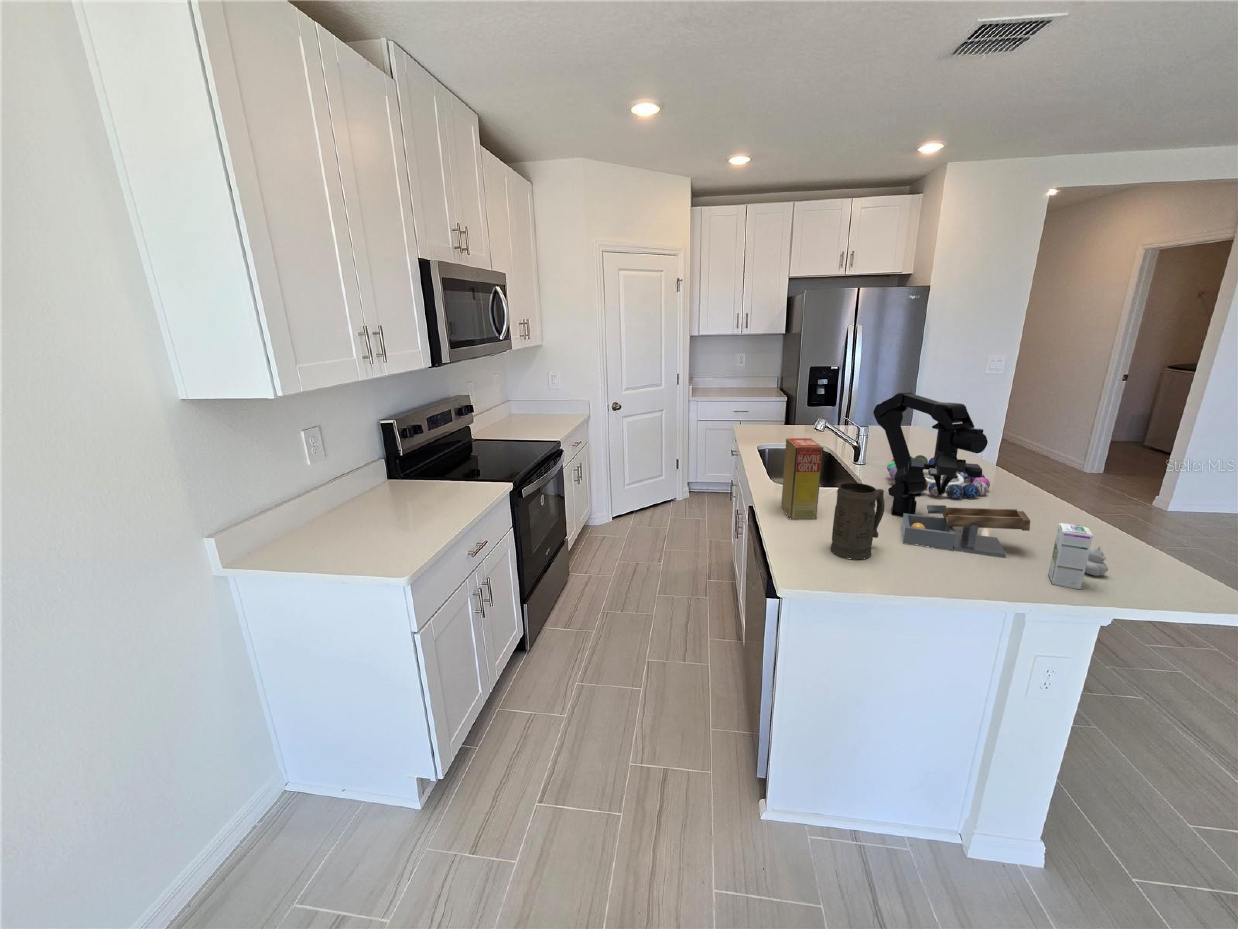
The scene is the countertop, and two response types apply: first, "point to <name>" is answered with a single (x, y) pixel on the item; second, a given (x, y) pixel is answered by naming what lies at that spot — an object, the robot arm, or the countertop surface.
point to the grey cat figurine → (1096, 563)
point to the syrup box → (1070, 555)
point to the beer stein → (856, 520)
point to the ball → (918, 525)
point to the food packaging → (801, 478)
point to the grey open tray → (927, 531)
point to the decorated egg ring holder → (953, 489)
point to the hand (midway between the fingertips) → (939, 494)
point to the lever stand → (977, 543)
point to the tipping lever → (982, 517)
